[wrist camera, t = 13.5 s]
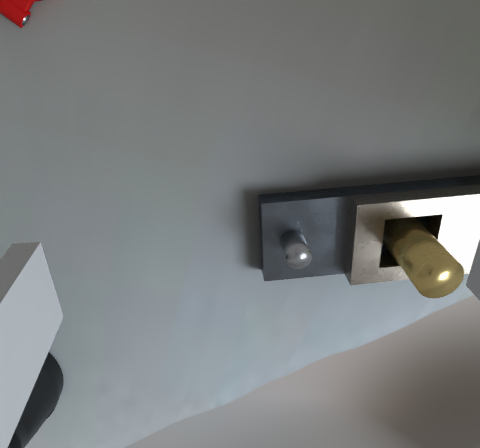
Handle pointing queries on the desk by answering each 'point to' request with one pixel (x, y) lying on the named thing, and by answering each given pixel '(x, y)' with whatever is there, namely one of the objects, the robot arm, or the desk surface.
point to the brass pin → (422, 257)
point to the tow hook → (17, 10)
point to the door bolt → (363, 227)
